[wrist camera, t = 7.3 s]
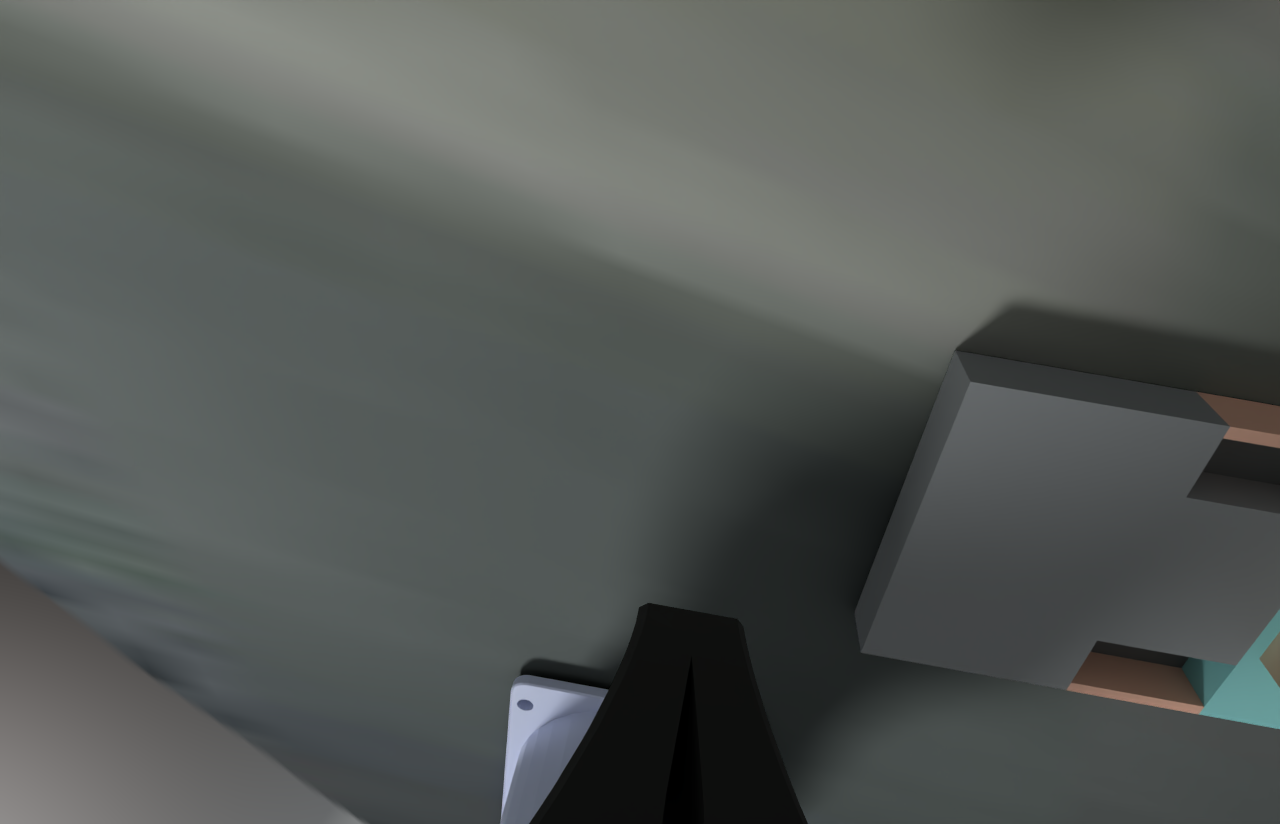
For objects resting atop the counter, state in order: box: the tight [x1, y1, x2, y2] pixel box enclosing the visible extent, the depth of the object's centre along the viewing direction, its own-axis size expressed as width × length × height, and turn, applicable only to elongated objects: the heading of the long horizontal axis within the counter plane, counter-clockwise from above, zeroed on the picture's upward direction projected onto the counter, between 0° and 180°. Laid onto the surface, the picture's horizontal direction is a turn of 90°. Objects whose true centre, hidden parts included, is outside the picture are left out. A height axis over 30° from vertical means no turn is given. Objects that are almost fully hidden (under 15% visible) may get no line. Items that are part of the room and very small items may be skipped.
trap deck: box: [854, 350, 1280, 729], centre depth 19 cm, size 14×8×4 cm, turn 82°
